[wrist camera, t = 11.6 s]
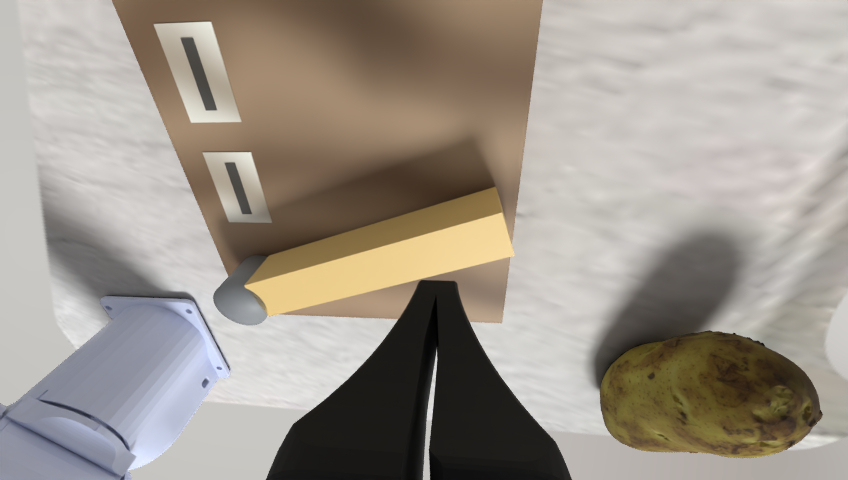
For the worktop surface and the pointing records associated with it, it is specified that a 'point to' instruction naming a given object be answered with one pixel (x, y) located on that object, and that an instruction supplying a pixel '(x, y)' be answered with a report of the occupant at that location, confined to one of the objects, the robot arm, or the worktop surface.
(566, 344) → the worktop surface
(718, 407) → the potato
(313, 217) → the label board
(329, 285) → the swing bar
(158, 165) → the worktop surface
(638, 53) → the worktop surface
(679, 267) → the worktop surface
